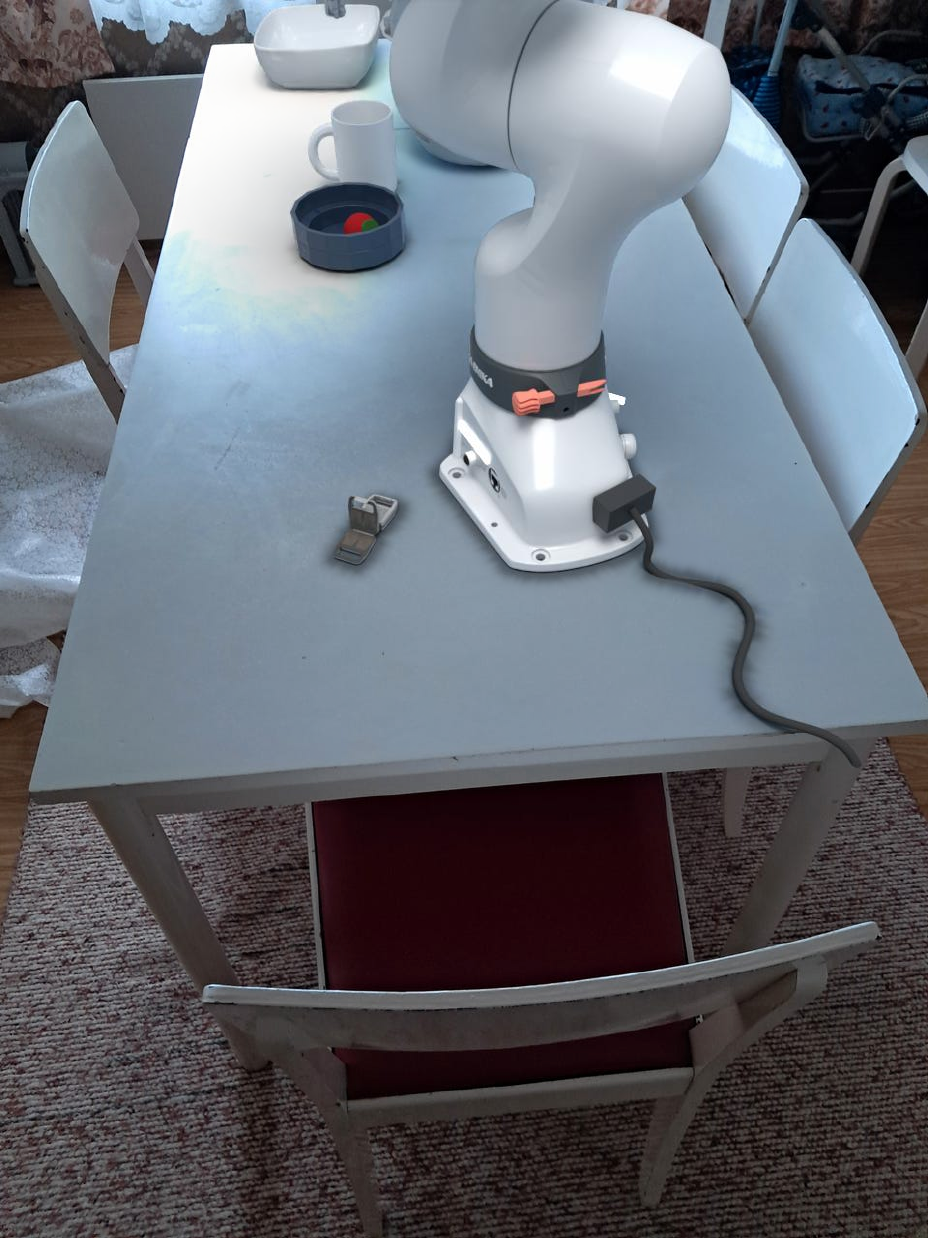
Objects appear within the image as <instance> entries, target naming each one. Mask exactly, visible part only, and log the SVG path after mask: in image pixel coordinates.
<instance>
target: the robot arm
mask: <svg viewBox="0 0 928 1238" xmlns="http://www.w3.org/2000/svg"><path fill="white" fill-rule="evenodd" d="M388 2H391V3H392V4H391V8H390V9H391V11H390V15H389V16H387V17H384V16H383V17H384V18H383V17H382V18H383V19H384V26H385V29H384V32H385V35H386V36H388V37H391V38H392V42H391V43H390V48H389V55H388V56H389V57H388V74H389V75H388V76H389V84H390V89H391V93H392V98H393V101H394V105H395V107H396V109H397V111H398V113H399V115H400V117H401V118H402V120H403V121H404V123H406V125H409V126H410V127H412V128H413V129H415V130H416V131H418V132H420V133H421V134H423V135H424V136H426V137H427V138H429V139H431V140H432V141H434V142H436V143H437V144H439V145H441V146H443V147H444V148H446V149H448V150H449V151H451V152H453V153H455V154H457V155H460V156H463V157H466V158H470V159H473V160H476V161H480V162H483V163H486V164H490V165H489V166H493V167H497V168H500V169H504V170H507V171H510V172H513V173H517V174H520V175H523V176H525V177H526V178H529V179H531V182H532V184H533V188H534V196H535V201H534V200H533V202H534V207H533V206H531V207H527V208H525V209H522V210H519V211H517V212H513V213H511V214H509V215H507V216H506V217H503V218H502V219H500V220H498V221H497V222H496V223H495V224H494V225H493V226H492V227H490V229H488V231H487V232H486V233H485V234H484V237H483V238H482V240H481V242H480V244H479V247H478V249H477V251H476V253H475V257H474V263H473V264H474V266H473V267H474V274H473V275H474V324H473V325H472V327H471V330H470V335H469V343H468V360H469V373H470V377H469V379H468V381H467V382H466V384H465V386H464V387H463V389H462V391H461V393H460V394H459V395H458V397H457V399H456V400H455V402H454V403H455V404H454V421H453V422H454V423H453V425H454V426H453V427H454V428H453V445H452V452H451V453H450V454H449V455H448V456H447V457H445V459H444V460H442V462H441V463H440V465H439V470H438V471H439V472H438V476H439V478H440V480H441V481H442V483H443V484H444V485H445V487H447V489H448V491H449V492H450V493H451V495H453V497H454V498H455V499H456V500H457V502H458V503H459V505H460V506H461V507H462V508H463V510H464V511H465V513H466V514H467V515H468V516H469V518H470V519H471V520H472V522H473V523H474V524H475V525H476V527H477V528H478V529H479V530H480V532H481V533H482V534H483V536H484V537H485V538H486V540H487V541H488V542H489V543H490V545H491V546H492V548H494V550H495V552H497V554H498V555H499V556H500V558H501V559H502V560H503V561H504V563H505V564H506V565H507V566H508V567H510V568H512V569H515V570H520V571H525V572H526V571H527V572H535V573H543V572H544V573H546V572H549V573H550V572H559V571H560V572H561V571H566V570H573V569H577V568H583V567H588V566H590V565H595V564H598V563H601V562H602V563H603V562H605V561H609V560H611V559H614V558H616V557H619V556H621V555H623V554H626V553H628V552H629V551H631V550H633V549H634V548H635V547H637V546H638V545H640V544H641V543H642V542H644V543H645V548H644V552H643V554H642V564H643V566H644V568H645V569H646V570H647V571H648V572H649V573H650V574H651V575H652V576H654V577H656V578H659V579H664V580H670V581H676V582H681V583H685V584H688V585H691V586H695V587H699V588H703V589H705V590H710V591H713V592H717V593H721V594H724V595H726V596H728V597H730V598H731V599H733V600H734V601H735V602H737V603H738V605H739V606H740V608H741V609H742V611H743V613H744V616H745V630H744V634H743V638H742V640H741V642H740V645H739V648H738V650H737V653H736V656H735V660H734V662H733V669H732V681H733V686H734V689H735V691H736V694H737V695H738V697H739V698H740V700H741V702H742V703H743V704H744V705H745V706H746V707H747V708H748V709H749V710H750V711H751V712H753V713H754V714H755V715H757V716H758V717H760V718H762V719H764V720H765V721H768V722H770V723H772V724H775V725H777V726H781V727H784V728H787V729H791V730H794V731H797V732H801V733H805V734H808V735H811V736H813V737H815V738H816V737H817V738H819V739H822V740H824V741H826V742H828V743H830V744H832V745H833V746H834V747H836V748H837V749H838V750H840V752H841V753H842V754H843V755H844V756H845V758H846V759H847V760H848V762H849V763H850V765H851V767H854V768H855V769H860V768H861V767H862V761H861V760H860V757H859V756H858V754H857V753H856V751H855V750H854V749H853V748H852V747H851V746H850V745H849V743H848V742H846V741H845V740H844V739H842V738H841V737H839V735H836V734H834V733H832V732H831V731H829V730H826V729H824V728H821V727H818V726H815V725H812V724H809V723H807V722H806V723H805V722H802V721H799V720H795V719H792V718H788V717H785V716H783V715H780V714H777V713H774V712H771V711H769V710H767V709H766V708H764V707H762V706H761V705H759V704H758V703H757V702H756V701H755V700H754V699H753V698H752V697H751V696H750V694H749V692H748V690H747V689H746V687H745V683H744V681H743V668H744V663H745V660H746V656H747V653H748V652H749V648H750V646H751V643H752V640H753V637H754V633H755V627H756V617H755V613H754V611H753V608H752V606H751V604H750V603H749V602H748V600H747V599H746V597H744V596H743V595H742V594H741V593H740V592H739V591H737V589H734V588H732V587H730V586H727V585H725V584H722V583H718V582H714V581H707V580H701V579H700V580H698V579H692V578H691V579H690V578H683V577H678V576H674V575H671V574H669V573H666V572H664V571H663V570H660V569H659V568H658V567H657V566H656V564H654V563H653V562H652V556H653V553H654V547H655V543H654V539H653V536H652V533H651V531H650V529H649V522H648V519H647V515H646V513H648V512H650V511H652V509H653V505H654V501H655V497H656V491H657V486H656V485H654V484H653V483H652V482H651V481H649V480H648V479H647V478H646V477H644V476H643V475H642V474H640V473H638V474H636V475H634V476H633V473H632V470H631V468H630V465H629V461H628V460H631V459H634V458H636V455H637V439H636V437H635V434H633V433H631V432H630V433H620V432H619V428H618V423H617V420H616V419H617V418H616V416H615V415H618V414H619V413H620V405H622V406H623V405H624V404H625V403H626V402H625V401H626V397H624V396H620V395H618V394H614V393H610V392H609V388H608V384H607V371H606V369H607V367H606V365H607V361H608V360H607V351H606V350H607V349H606V344H605V333H604V330H603V328H602V327H603V320H604V314H605V312H604V311H605V307H606V302H607V296H608V291H609V290H608V289H609V285H610V280H611V277H612V271H613V269H614V268H613V267H614V264H615V260H616V259H617V255H618V254H619V251H620V249H621V247H622V246H623V244H624V242H625V241H626V239H627V238H628V236H629V235H630V234H631V232H633V230H635V228H636V227H637V226H638V225H639V224H640V223H641V222H642V221H644V220H645V219H646V218H647V217H649V216H650V215H652V214H653V213H655V212H656V211H658V210H660V209H663V208H664V207H667V206H669V205H671V204H672V205H673V203H675V202H677V201H678V200H681V199H682V198H683V197H684V196H686V195H687V194H688V193H689V192H691V191H692V190H693V189H695V187H697V186H698V184H699V183H700V182H701V181H702V180H703V179H704V178H705V177H706V175H707V174H708V173H709V171H710V170H711V168H712V167H713V166H714V164H715V162H716V160H717V158H718V157H719V155H720V154H721V151H722V149H723V146H724V144H725V141H726V138H727V136H728V132H729V128H730V124H731V117H732V109H733V108H732V107H733V94H732V84H731V78H730V73H729V71H728V67H727V63H726V61H725V58H724V56H723V54H722V52H721V49H719V47H717V46H716V45H715V44H712V43H710V42H709V41H707V40H705V39H704V38H701V37H699V36H697V35H696V34H694V33H692V32H690V31H688V30H686V29H684V28H683V27H680V26H678V25H675V24H673V23H672V22H670V21H667V20H665V19H663V18H661V17H659V16H655V15H651V14H646V13H641V12H638V11H637V12H636V11H632V10H626V9H622V8H617V7H612V6H607V5H603V4H599V3H598V4H597V3H593V2H588V1H583V0H388ZM323 4H324V6H325V13H326V15H327V16H328V17H332V18H335V19H339V18H341V17H344V16H345V14H346V9H345V4H346V0H323ZM409 126H408V127H409ZM410 127H409V128H410Z"/></svg>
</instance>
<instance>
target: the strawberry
mask: <svg viewBox="0 0 928 1238" xmlns="http://www.w3.org/2000/svg"><path fill="white" fill-rule="evenodd" d="M377 227H379V225H378V223H377V222H376V221H375V220H374V219H373V218H372V217H371V216H369V215H367V214H365V213H355V214H353V215H351V216H350V217H349V218H348V219H347V221H346V222H345V225H344V234H352V233H358V232H364V231H369V230H372V229H374V228H377Z"/></svg>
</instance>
